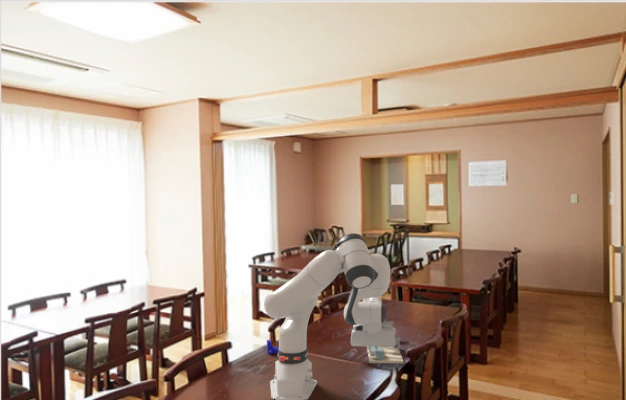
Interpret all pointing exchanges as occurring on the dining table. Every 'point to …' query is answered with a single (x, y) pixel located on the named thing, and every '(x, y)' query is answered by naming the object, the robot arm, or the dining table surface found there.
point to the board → (387, 356)
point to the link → (378, 353)
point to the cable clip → (271, 348)
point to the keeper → (397, 342)
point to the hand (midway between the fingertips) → (373, 355)
